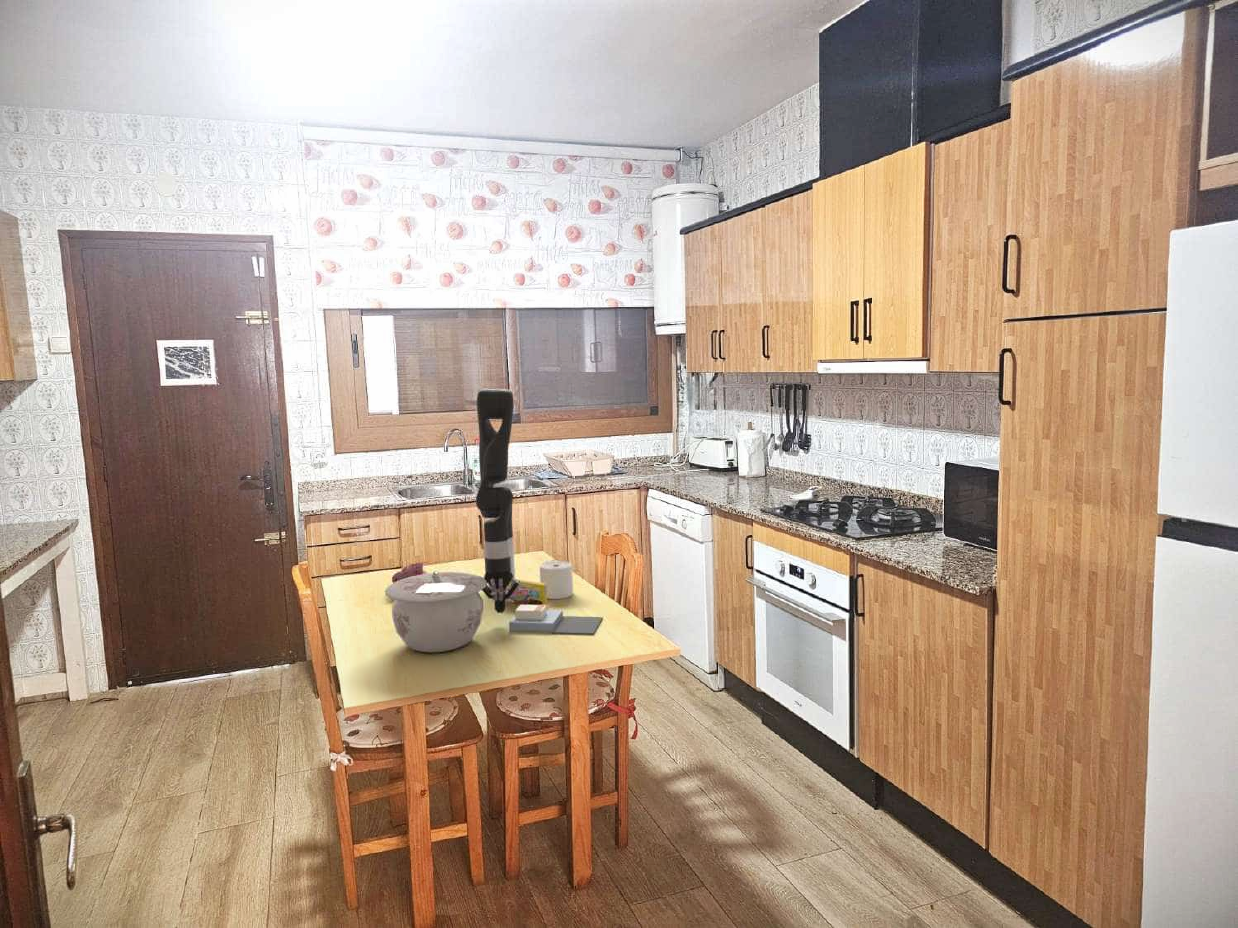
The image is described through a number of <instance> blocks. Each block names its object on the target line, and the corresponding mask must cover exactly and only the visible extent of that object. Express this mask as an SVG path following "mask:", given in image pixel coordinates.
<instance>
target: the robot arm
mask: <svg viewBox="0 0 1238 928" xmlns="http://www.w3.org/2000/svg"><path fill="white" fill-rule="evenodd" d="M514 404H515V402H514V394H513V392H512V390H510V389H505V388H501V389H499V388H482V389H480V390H479V391H478V392H477V396H476V413H477V420H478V421H477V423H478V431H479V432H478V433H479V434H478V435H479V436H478V437H479V440H478V441H479V442H478V444H479V445H478V446H479V447H478V449H479V450H478V459H479V460H478V463H479V474H480V475H479V476H480V485H479V488H478V490H477V492H476V493H477V494H476V496H475V505H476V507H477V509H478V510H479V511H480V515H481V516H482V518H484V519H488V520H485V522H484V523H483V533H484V534H483V535H484V538H483V539H484V545H483V551H484V552H483V555H484V569H485V570H484V571H485V573H484V575H483V578H484V579H485V580H486V581H487V585H486V587H485V588H484V589H482V590H481V591H482V592H483V593H484V594H485V596H486V597H487V598H488V599H492V600H493V601H494V610H495V612H496V613H497V614H502V613H504V611H506V606H507V604H505V599H508V598H509V597H510V596H511V595H512V594H513V592H514V591H515V590H516V588H517V587H518V586H519V584H520V581H519V580H520V579H516V572H515V571H516V569H515V550H514V533H513V531H514V530H513V502H514V494H513V492H512V490H511V489H510V488H509V487H506V486H496V487H494V486H495V485H497V484H500V483H503V482H506V480H507V478H508V466H509V445H510V441H511V440H510V438H511V433H512V425H513V417H514ZM490 420H501V425H500V427H499V429H498V431H496V430H495V428H494V427H493V425H492V422H491V421H490ZM515 579H516V580H515ZM517 580H518V581H517ZM510 582H511V586H512V587H511V589H510V590H509V591H508V593H507V594H506V587H507V586H508V585H509V583H510Z"/></svg>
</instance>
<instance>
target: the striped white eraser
mask: <svg viewBox="0 0 1238 928" xmlns="http://www.w3.org/2000/svg"><path fill="white" fill-rule="evenodd" d="M547 610H548V604H547V605H520V606H517V608H516V609H515V610H514V611H515V612H514V613H515V615H514V616H515V617H516V619H543V618H544V617H545V615H546V614H547Z"/></svg>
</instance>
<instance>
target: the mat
mask: <svg viewBox="0 0 1238 928" xmlns="http://www.w3.org/2000/svg"><path fill="white" fill-rule="evenodd" d="M601 620H602V621H603V616H575V615H573V616H571V615H567V616H566V615H565V616H564V615H563V617H562V619H561V620H560V621H559V623H558V624H557V626H556V627H555V629H554V630H553V631H552V632H551V634H553V635H555V634H556V635H581V634H582V635H583V634H587V636H589V635H590V636H594V635H595V634H596V632H597V630H598V628H599V626H600V624H601V623H602V621H601ZM600 622H601V623H600ZM596 629H597V630H596ZM595 631H596V632H595Z"/></svg>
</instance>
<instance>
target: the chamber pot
mask: <svg viewBox="0 0 1238 928" xmlns="http://www.w3.org/2000/svg"><path fill="white" fill-rule="evenodd" d="M486 585H488V583H487V581H486V580H485V579H484V576H481V575H478V574H474V573H469V572H468V573H467V572H460V571H443V572H442V571H437V570H433V572H429V573H427V574H422V575H417V576H412V577H409V578H405V579H402V580H399V581H397V582H395V583H393V582H392V583H391V584H389V585H388V586H387V587H386V588H385V590H384V594H385V596H386V597H388V598H390V599H392V600H394V601H393V603H392V605H391V616H392V621H393V624H394V627H395V632H396V633H397V635H398V636H399V638H400V639H401V641H402V642H403V643H404V644H405V645H406V646H408V648H410V649H411V650H413V651H417V652H421V653H429V654H430V653H431V654H433V653H435V654H437V653H438V654H439V653H446V652H451V651H454V650H456V649H459V648H461V647H464V646H465V645H467V644H469V643H470V642H471V641H472V640H473V638H474V637H475V635H476V633H477V631H478V629H479V628H480V625H481V623H482V620H483V613H484V599H483V597H482V596H481V594H480V593H479V592H481V591H482V589H484V588H485V587H486Z"/></svg>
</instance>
